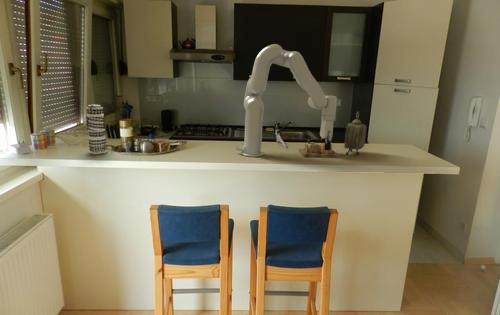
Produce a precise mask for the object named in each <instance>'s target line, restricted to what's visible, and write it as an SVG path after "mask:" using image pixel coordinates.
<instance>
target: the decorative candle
mask: <svg viewBox="0 0 500 315" xmlns="http://www.w3.org/2000/svg"><path fill="white" fill-rule="evenodd" d="M103 109H104V107H103V106H102V105H101V104H88V105H87V107H86V116H85V119H86V121H85V122H86V126H87V127H86V128H87V132H88V144H89V145H88V148H89V149H88V150H89V154H92V155H99V154H100V155H101V154H105V153H107V152H108V149H107V138H106V134H105V131H106V127H105V126H106V124H105V122H106V120H105V119H106V117H105V116H104V110H103Z"/></svg>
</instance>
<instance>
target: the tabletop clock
mask: <svg viewBox="0 0 500 315" xmlns="http://www.w3.org/2000/svg"><path fill="white" fill-rule="evenodd" d="M359 117H360V111H356V114H355V119H354V120H352V122H349V123H348V124H347V125H346V127H345V136H344V144H343V145H344V148H345V149H348V151H346V152H345V156H348V155H349V154H350V153H349V152H353V150H355V151H356V153H355V154H356V155H359V154H360V153H359V151H358V150H361V149H363V148H364V147H365V144H366V136H367V130H368V129H367V128H368V126H367V125H366V124H364V123H362V121H361V120H360V119H359Z"/></svg>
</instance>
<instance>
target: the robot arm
mask: <svg viewBox="0 0 500 315" xmlns="http://www.w3.org/2000/svg"><path fill="white" fill-rule="evenodd" d="M272 64H275V65H277V66H281V67H284V68H288V69H289V70H290V72H291V73H292V75H293V78H294V79H295V81H296V83H297V84H298V86H300V87H301V88H302V89H303V90H304V91H305V92H306V94H308V96H309V97H308V98H307V104H308V106H309V107H310V108H312V109H316V110H318V111H319V110H321V118H320V120H321V122H320V123H321V125H320V131H319V136H320V137H321V139H320V143H325V149H324V150H330V148H331V144H332V139H333V137H334V136H333V133H334V122H335V121H336V113H337V103H338V98H337V97H338V96H336V95H326V94H325V93H324V91H323V89H322V87H321V86H320V84H319V83H318V81H317V80H316V78H315V77H314V76H313V75H312V73H311V71H310V69H309V68H308V65H307V62H306V60H304V57H303V56H302V54H301V53H300V52H299V51H295V50H294V51H289V50H285V49H283V47H282V46H281V45H279V44H276V43H274V44H273V43H272V44H270V45H267V46H266V47H264V48H262V50H260V52H259V53H258V54H257V56H256V57H255V60H254V63H253V67H252V71H251V76H250V78H249V79H248V81H247V83H246V88H245V93H244V99H243V108H244V109H245V115H244V116H245V119H244V143H243V145H242V146H235V150H236V151H240V152H241V153H240V154H241V155H242V156H244V157H250V158H254V157H255V158H256V157H257V158H259V157H263V156H265V152H264V151H263V150H262V141H263V138H262V137H263V119H264V111H265V106H264V102H263V100H262V97H263V96H262V95H263V93H265V92H266V89H267V84H268V83H267V82H268V78H269V73H270V68H271V66H272Z"/></svg>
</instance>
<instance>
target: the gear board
mask: <svg viewBox="0 0 500 315" xmlns="http://www.w3.org/2000/svg"><path fill="white" fill-rule="evenodd" d="M319 144H320V143H316V142H313V141H312V142H311V139H307V142H306V143H305V147H304V148H298V153H299V154H300V155H301V156H302V158H333V159H334V158H335V159H339V158H340V154H338V153H337V152H336V151H335V150H333V149H332V152H331V153H328V154H326V153H321V152H318V151H319Z"/></svg>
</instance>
